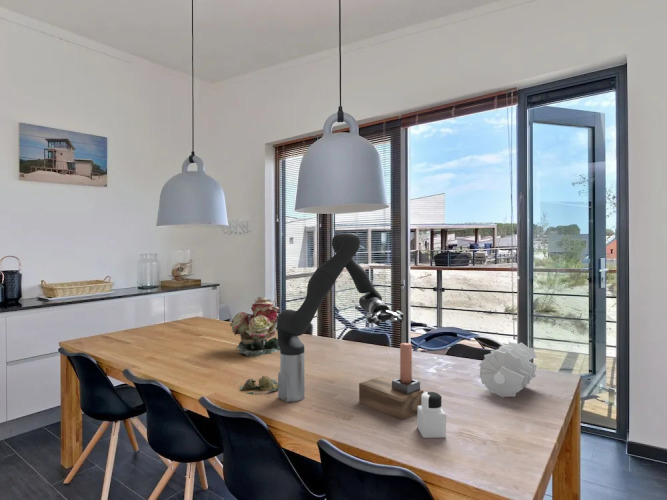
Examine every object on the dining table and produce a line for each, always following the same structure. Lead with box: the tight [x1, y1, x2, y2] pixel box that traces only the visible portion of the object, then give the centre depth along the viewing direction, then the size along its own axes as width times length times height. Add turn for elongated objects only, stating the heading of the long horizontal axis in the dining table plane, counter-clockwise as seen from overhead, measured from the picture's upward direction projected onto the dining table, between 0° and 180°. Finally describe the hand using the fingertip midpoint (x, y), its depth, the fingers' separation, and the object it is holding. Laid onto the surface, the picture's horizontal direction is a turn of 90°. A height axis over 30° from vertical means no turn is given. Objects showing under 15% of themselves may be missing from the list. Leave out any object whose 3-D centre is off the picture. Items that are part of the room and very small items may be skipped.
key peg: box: [399, 342, 413, 384], centre depth 141 cm, size 4×4×16 cm
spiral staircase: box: [478, 341, 538, 399], centre depth 160 cm, size 18×18×25 cm
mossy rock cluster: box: [239, 375, 278, 396], centre depth 165 cm, size 18×18×5 cm
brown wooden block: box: [358, 376, 424, 421], centre depth 144 cm, size 12×20×10 cm, turn 40°
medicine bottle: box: [416, 391, 447, 439], centre depth 123 cm, size 7×7×12 cm
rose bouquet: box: [229, 295, 282, 358], centre depth 222 cm, size 26×29×30 cm
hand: (389, 322), depth 153 cm, fingers open, 8 cm apart
